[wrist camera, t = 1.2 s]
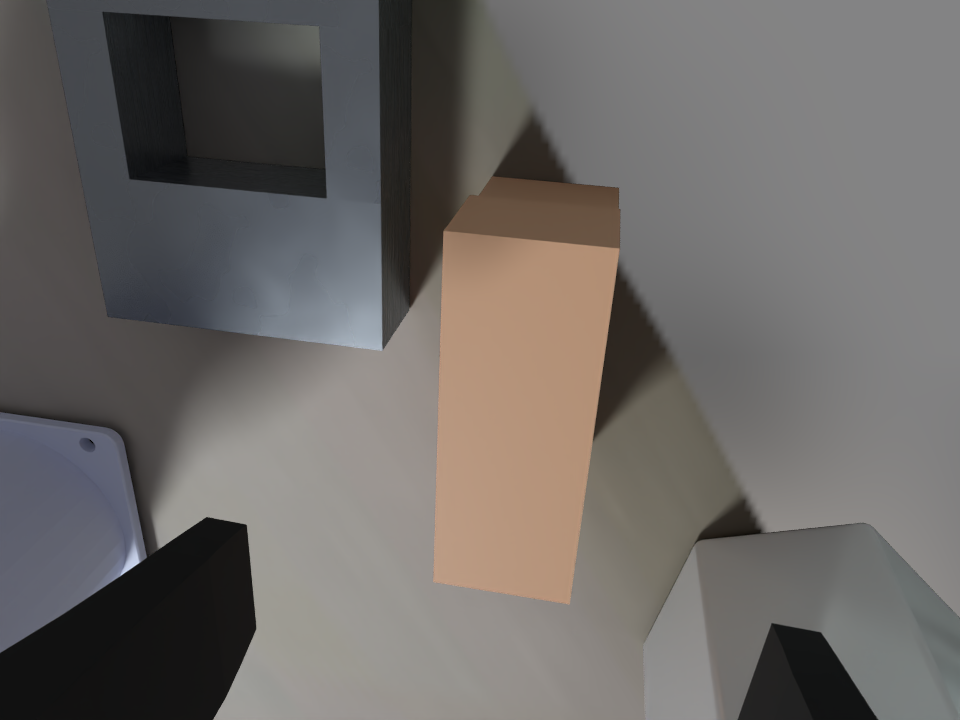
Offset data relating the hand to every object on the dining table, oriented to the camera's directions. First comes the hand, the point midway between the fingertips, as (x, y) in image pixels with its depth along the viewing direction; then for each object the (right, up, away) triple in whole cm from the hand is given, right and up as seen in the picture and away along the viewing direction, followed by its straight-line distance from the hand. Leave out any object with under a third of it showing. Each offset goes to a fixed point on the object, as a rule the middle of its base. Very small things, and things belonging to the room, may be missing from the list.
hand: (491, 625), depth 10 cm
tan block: (+1, +5, +9) cm, 10 cm away
